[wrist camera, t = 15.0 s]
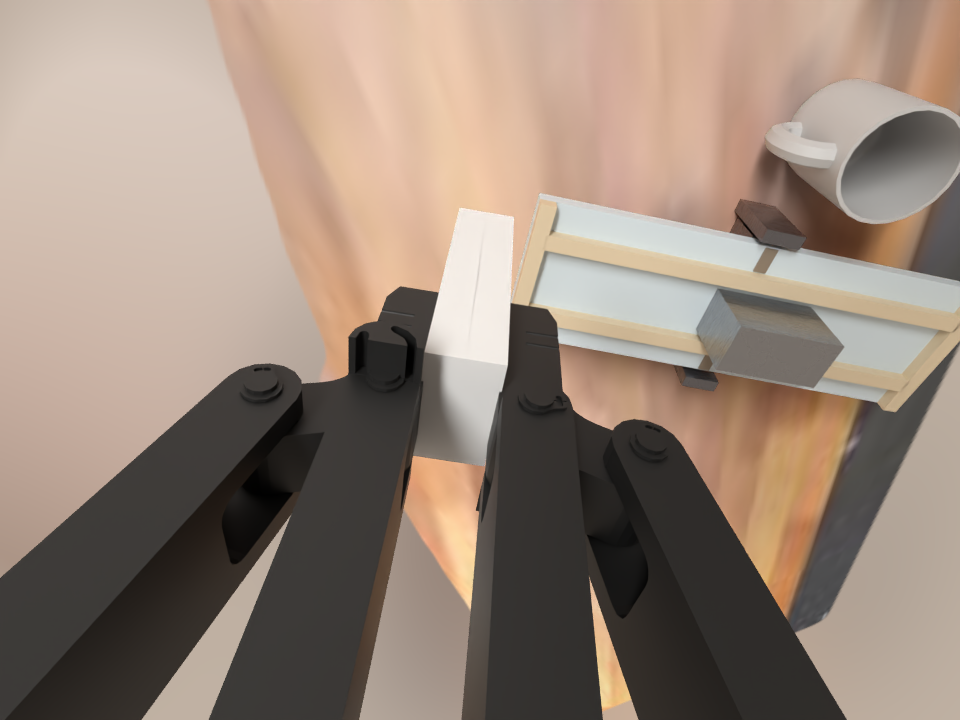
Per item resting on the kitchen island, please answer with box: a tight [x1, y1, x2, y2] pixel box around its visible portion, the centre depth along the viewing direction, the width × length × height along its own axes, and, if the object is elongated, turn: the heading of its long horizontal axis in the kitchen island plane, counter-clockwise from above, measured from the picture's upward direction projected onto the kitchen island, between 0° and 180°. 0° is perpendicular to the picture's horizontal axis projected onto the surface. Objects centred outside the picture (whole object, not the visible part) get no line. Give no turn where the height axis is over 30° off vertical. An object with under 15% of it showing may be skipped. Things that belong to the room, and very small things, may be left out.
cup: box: [765, 79, 960, 224], centre depth 37 cm, size 7×10×9 cm
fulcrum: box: [674, 199, 806, 391], centre depth 46 cm, size 15×3×6 cm, turn 169°
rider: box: [696, 288, 844, 388], centre depth 43 cm, size 4×8×6 cm, turn 79°
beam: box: [510, 193, 960, 412], centre depth 45 cm, size 12×36×2 cm, turn 79°
